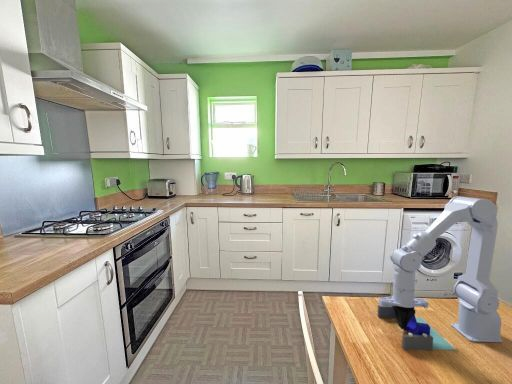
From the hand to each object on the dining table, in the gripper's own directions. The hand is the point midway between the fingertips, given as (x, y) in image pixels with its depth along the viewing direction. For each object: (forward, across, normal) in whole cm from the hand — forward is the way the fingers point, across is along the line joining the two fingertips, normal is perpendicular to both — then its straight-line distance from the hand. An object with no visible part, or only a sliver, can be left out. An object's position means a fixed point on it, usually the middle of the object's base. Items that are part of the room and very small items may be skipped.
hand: (401, 327), depth 73 cm
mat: (+1, -7, 0) cm, 7 cm away
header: (+1, 0, 0) cm, 1 cm away
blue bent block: (+2, -3, 0) cm, 3 cm away
